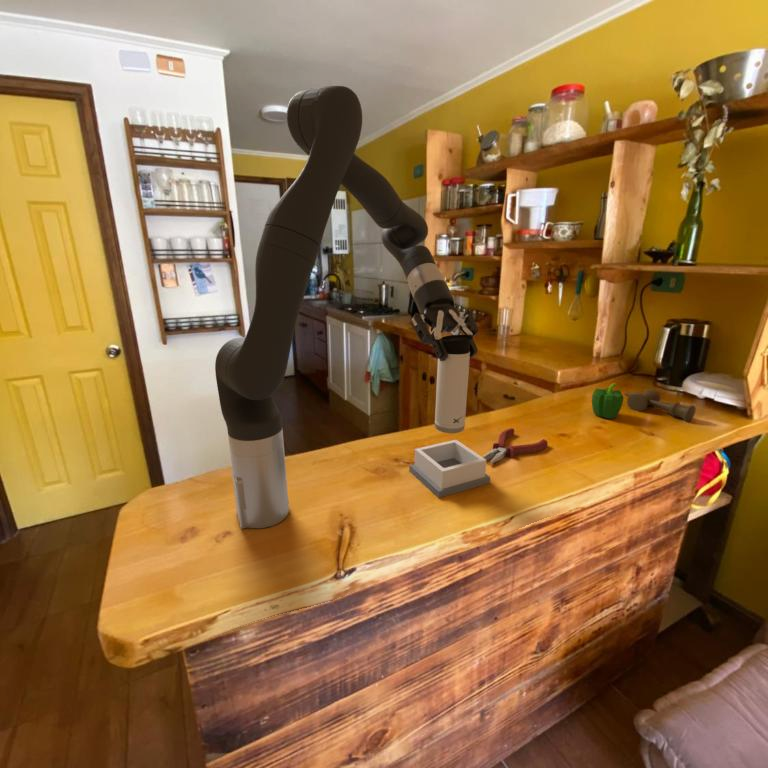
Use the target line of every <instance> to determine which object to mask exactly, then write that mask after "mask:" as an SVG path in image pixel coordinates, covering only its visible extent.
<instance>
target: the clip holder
mask: <svg viewBox="0 0 768 768" xmlns="http://www.w3.org/2000/svg"><path fill="white" fill-rule="evenodd" d="M408 467H409V468H408V469H409V470H408V471H409V473H411V474H412V476H414V477H415V478H416V479H417V480H419V482H421V483H422V485H424V487H426V488H427V489H428V490H429V491H430V492H431V493H432V494H433V495H434V496H436V498H438V499H440V498H444V497H446V496H450V495H454V494H457V493H461V492H465V491H467V490H471V489H475V488H479V487H482V486H484V485H488V484H491V476H490V475H488V474H487V473H486V470H487V469H486V468H487V459H484V458H483V456H481V455H480V454H478V453H477V452H475V451H473V450H472V449H471V448H470V447H468V446H466V445H464V444H463V443H462V442H460V441H459V440H458V439H454V440H447V441H444V442H439V443H435V444H430V445H426V446H423V447H418V448H415V449H414V462H413V464H409V466H408Z"/></svg>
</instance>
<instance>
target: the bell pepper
mask: <svg viewBox="0 0 768 768" xmlns="http://www.w3.org/2000/svg"><path fill="white" fill-rule="evenodd" d="M616 386H617V383H615V382H613V383H611V384H610V385H609V386H608V387H607V388H603V389H602V388H595V389H594V391H593V394H592V397H591V407H592V413H594V415H595V416H596V417H603V418H605V419H611V420H613V419H615V418H617V417H618V415H619V413H620V411H621V409H622V407H623V403H624V396H623V395H624V394H623V393H622V392H621V390H619V389H615V390H613V388H614V387H616Z"/></svg>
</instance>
